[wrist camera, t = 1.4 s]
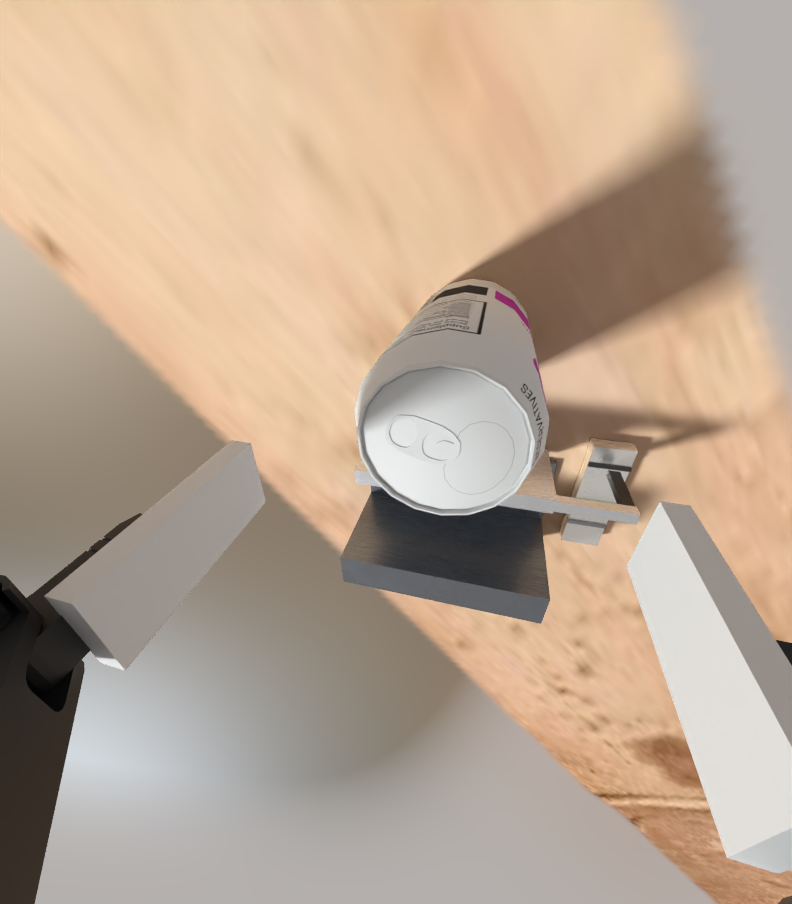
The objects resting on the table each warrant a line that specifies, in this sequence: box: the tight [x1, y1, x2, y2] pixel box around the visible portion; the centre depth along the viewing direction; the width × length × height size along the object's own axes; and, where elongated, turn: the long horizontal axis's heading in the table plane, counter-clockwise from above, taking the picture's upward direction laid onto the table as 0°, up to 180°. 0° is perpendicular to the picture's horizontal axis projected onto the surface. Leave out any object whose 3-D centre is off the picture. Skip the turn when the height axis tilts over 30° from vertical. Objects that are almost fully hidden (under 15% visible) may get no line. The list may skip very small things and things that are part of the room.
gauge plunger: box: [354, 451, 641, 524], centre depth 28 cm, size 1×19×6 cm, turn 90°
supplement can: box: [354, 279, 550, 515], centre depth 20 cm, size 8×8×15 cm
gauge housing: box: [341, 438, 638, 623], centre depth 29 cm, size 12×21×9 cm, turn 90°
